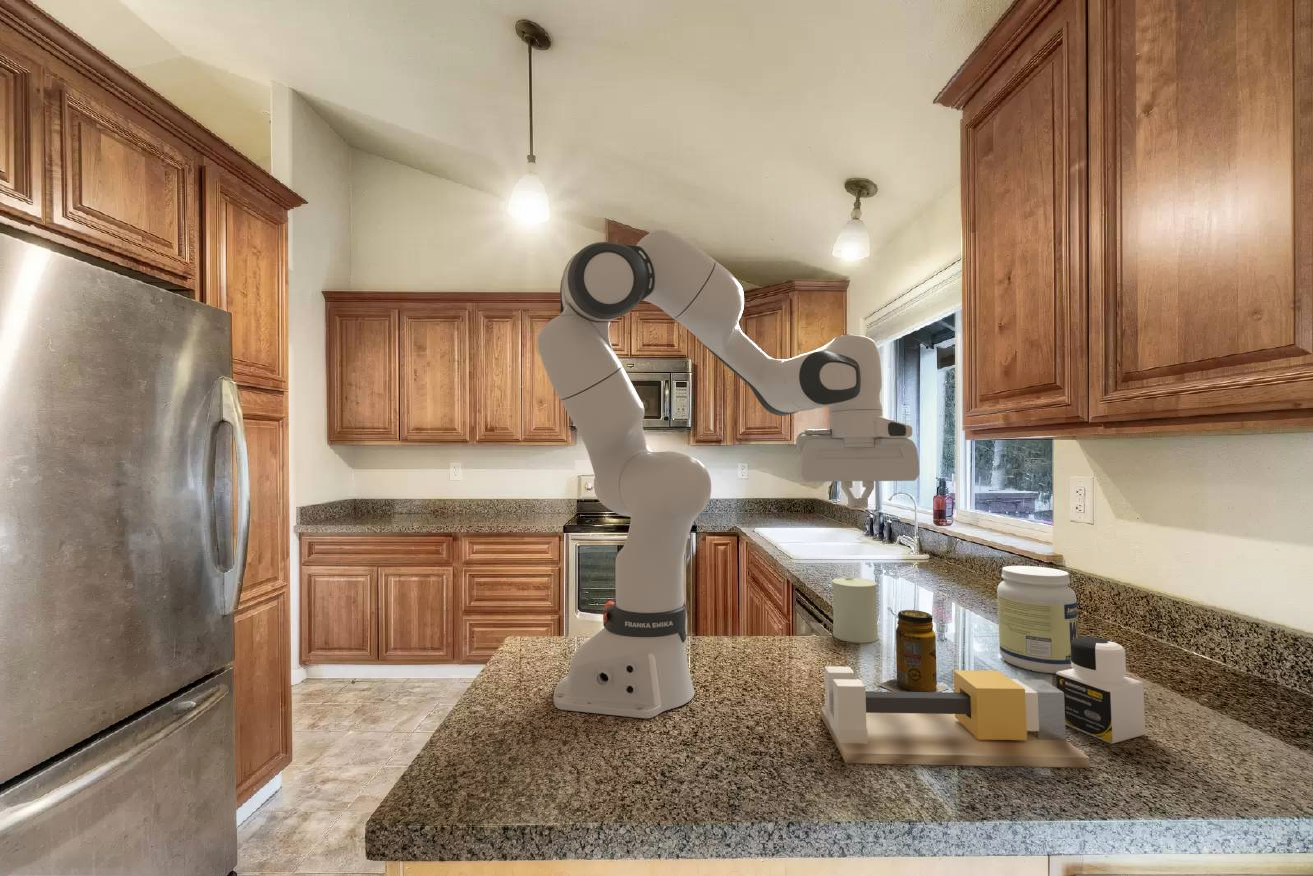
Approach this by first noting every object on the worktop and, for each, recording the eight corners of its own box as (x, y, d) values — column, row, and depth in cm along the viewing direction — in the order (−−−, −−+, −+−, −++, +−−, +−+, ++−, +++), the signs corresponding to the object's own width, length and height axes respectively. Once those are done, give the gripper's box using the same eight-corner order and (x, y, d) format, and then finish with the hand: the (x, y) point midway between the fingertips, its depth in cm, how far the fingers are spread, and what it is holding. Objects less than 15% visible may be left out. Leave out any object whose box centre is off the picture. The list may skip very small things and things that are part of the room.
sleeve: (978, 739, 73) (976, 688, 73) (955, 717, 79) (953, 670, 80) (1026, 740, 73) (1025, 688, 73) (999, 717, 79) (997, 670, 79)
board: (845, 763, 71) (845, 753, 71) (821, 716, 84) (820, 708, 84) (1089, 767, 69) (1089, 757, 69) (1026, 719, 82) (1026, 711, 82)
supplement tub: (1085, 680, 96) (1080, 579, 97) (1000, 668, 102) (997, 573, 103) (1074, 658, 107) (1070, 567, 108) (998, 649, 113) (995, 562, 114)
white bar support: (839, 743, 73) (838, 687, 73) (824, 715, 81) (823, 665, 81) (867, 743, 73) (866, 687, 73) (850, 716, 81) (848, 665, 81)
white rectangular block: (1023, 730, 73) (1021, 692, 74) (1002, 714, 78) (1001, 678, 78) (1039, 731, 73) (1037, 692, 74) (1017, 714, 78) (1016, 678, 78)
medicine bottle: (1056, 722, 81) (1053, 636, 82) (1090, 714, 84) (1087, 630, 84) (1112, 745, 74) (1108, 651, 75) (1146, 735, 77) (1142, 645, 77)
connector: (1038, 740, 73) (1036, 692, 74) (1018, 724, 78) (1017, 679, 78) (1066, 740, 73) (1064, 692, 74) (1044, 724, 78) (1042, 679, 78)
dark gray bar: (837, 712, 76) (836, 697, 76) (833, 706, 78) (833, 691, 78) (1039, 715, 75) (1038, 699, 75) (1030, 708, 77) (1029, 693, 77)
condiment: (948, 689, 93) (946, 614, 94) (918, 701, 89) (916, 623, 89) (907, 675, 99) (905, 605, 100) (877, 686, 95) (875, 613, 95)
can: (867, 629, 127) (865, 574, 127) (886, 642, 117) (884, 583, 118) (826, 630, 126) (825, 575, 127) (842, 643, 117) (841, 584, 117)
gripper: (799, 428, 98) (801, 509, 97) (922, 426, 97) (924, 508, 96) (792, 430, 104) (794, 506, 103) (907, 428, 103) (910, 506, 102)
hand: (858, 507), depth 100 cm, fingers closed
